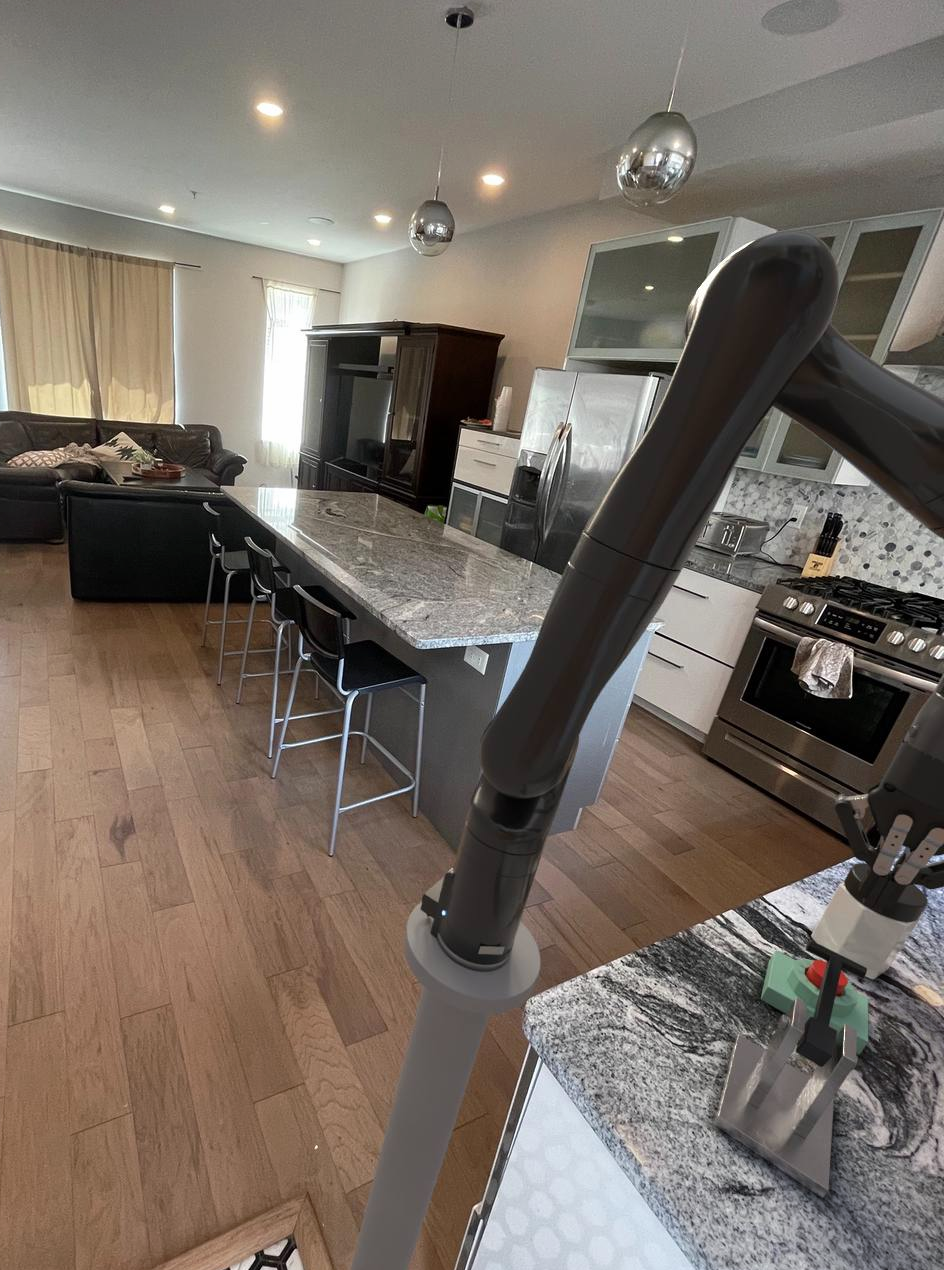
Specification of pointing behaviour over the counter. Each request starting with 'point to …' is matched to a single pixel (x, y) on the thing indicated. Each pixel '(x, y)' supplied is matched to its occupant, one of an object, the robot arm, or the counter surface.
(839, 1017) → the button block
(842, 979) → the button
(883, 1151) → the counter surface
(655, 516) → the robot arm
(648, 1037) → the counter surface
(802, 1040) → the lever
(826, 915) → the jar
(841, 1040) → the bracket
